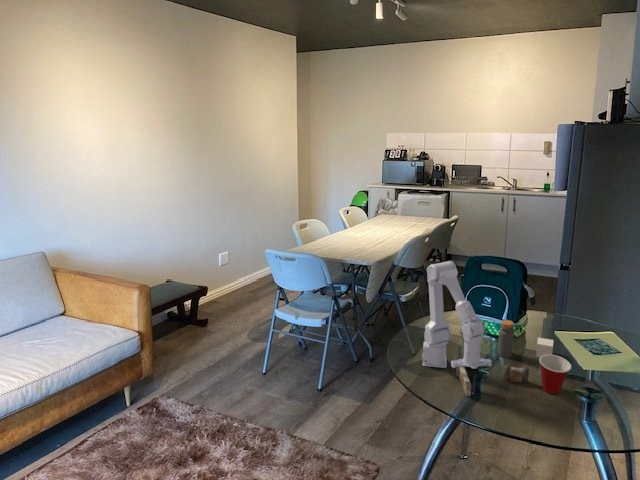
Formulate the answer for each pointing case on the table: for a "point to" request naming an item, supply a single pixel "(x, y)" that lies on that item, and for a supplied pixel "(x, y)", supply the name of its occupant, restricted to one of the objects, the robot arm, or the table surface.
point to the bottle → (506, 339)
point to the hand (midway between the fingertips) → (470, 382)
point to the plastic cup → (553, 372)
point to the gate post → (457, 371)
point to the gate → (465, 381)
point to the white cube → (544, 347)
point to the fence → (516, 374)
